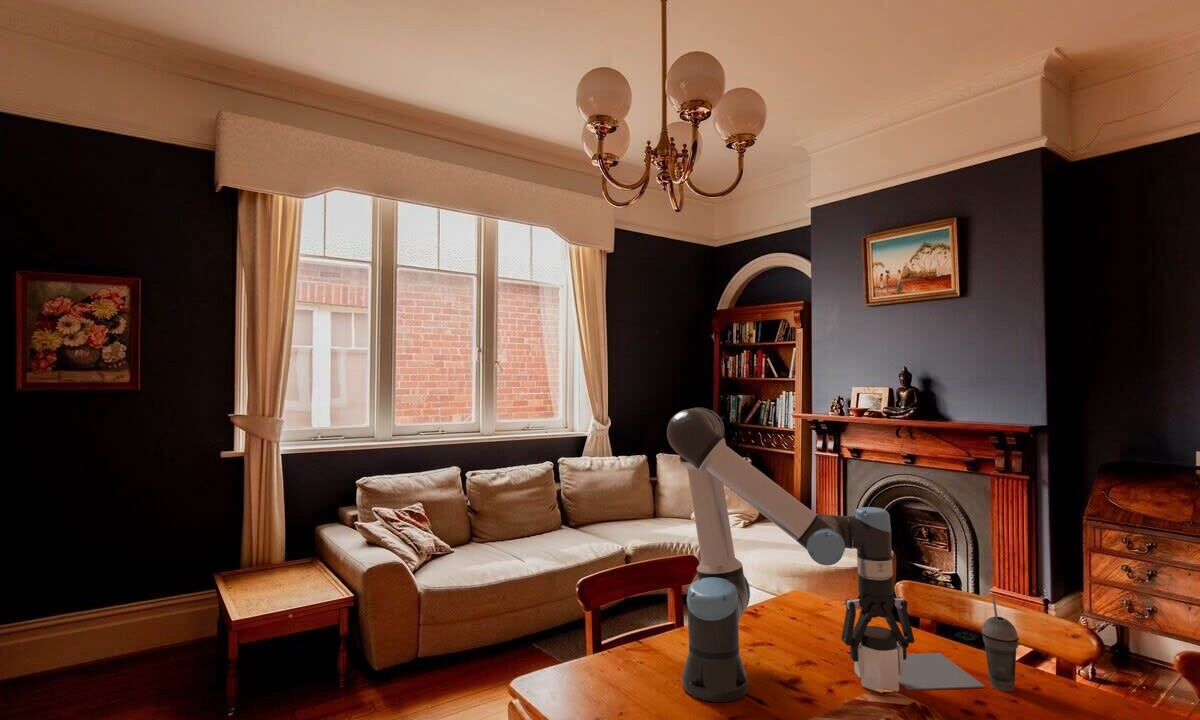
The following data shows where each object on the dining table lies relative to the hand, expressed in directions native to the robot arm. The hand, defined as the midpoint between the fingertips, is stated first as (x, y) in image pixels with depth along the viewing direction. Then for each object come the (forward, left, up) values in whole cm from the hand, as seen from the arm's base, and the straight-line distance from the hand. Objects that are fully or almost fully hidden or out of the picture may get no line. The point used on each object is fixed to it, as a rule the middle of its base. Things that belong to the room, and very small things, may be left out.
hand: (879, 674), depth 145 cm
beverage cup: (+27, -3, -3) cm, 27 cm away
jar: (0, 0, -3) cm, 3 cm away
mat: (+14, +6, -2) cm, 15 cm away
